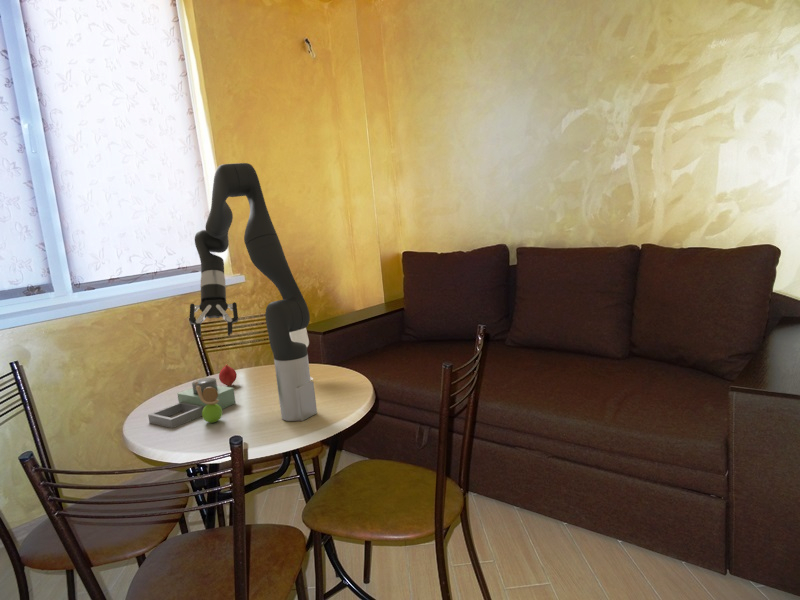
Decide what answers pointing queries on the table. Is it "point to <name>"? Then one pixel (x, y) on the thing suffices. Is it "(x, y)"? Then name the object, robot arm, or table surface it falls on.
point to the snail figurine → (210, 404)
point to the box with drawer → (191, 404)
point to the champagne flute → (300, 338)
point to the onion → (227, 375)
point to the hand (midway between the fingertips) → (214, 335)
